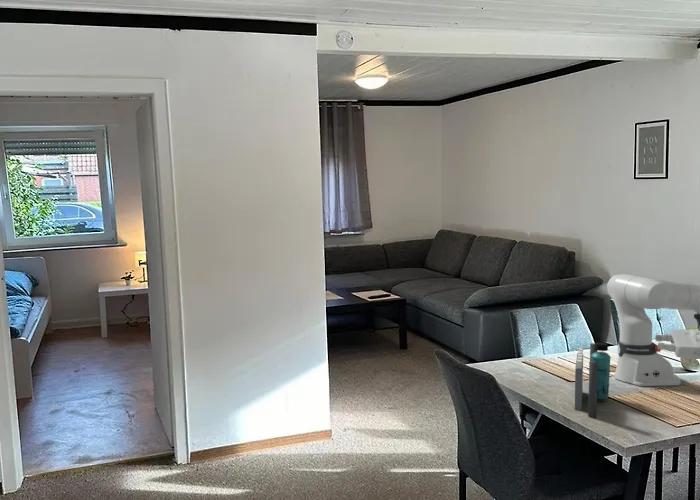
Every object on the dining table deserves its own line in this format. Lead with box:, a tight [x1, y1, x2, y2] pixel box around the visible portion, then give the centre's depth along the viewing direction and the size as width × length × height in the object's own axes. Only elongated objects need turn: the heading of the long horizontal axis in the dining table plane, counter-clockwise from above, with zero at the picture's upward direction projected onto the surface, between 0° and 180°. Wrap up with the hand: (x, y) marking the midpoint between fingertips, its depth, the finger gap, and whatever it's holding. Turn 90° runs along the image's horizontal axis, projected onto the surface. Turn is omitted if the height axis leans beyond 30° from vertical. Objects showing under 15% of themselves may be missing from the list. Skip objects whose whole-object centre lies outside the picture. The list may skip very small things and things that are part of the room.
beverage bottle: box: [591, 342, 611, 400], centre depth 214 cm, size 6×7×20 cm
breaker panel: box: [574, 347, 584, 411], centre depth 214 cm, size 2×18×16 cm, turn 158°
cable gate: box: [587, 342, 599, 419], centre depth 210 cm, size 2×24×18 cm, turn 158°
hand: (656, 341), depth 200 cm, fingers open, 8 cm apart
